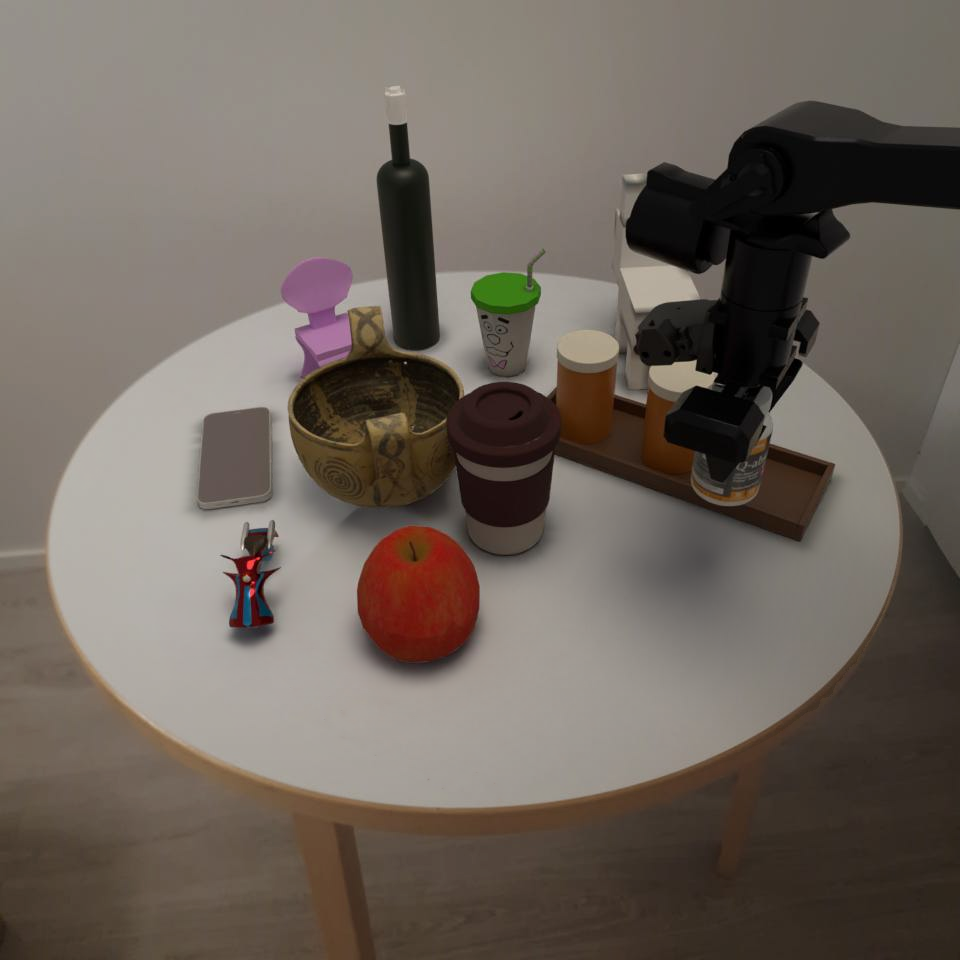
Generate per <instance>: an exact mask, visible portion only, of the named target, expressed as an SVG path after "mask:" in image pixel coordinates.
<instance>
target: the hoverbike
mask: <svg viewBox="0 0 960 960" xmlns="http://www.w3.org/2000/svg"><path fill="white" fill-rule="evenodd" d="M275 538H279V534H278V532H277V530H276V521H275V519H271V520H270V521H269V523H268V527H258V528H250V522H248V521H245V522H244V523H243V526H242V531H241V536H240V544H239V545H240V546H239V548H240V551H241V552H244V551H245V550H246V551H247V553H248V555H242V556H240V557H238V558H237V557H235V558H233V557H230V556H229V555H225V554H220V555H219V557H222V558H224V559H226V560H230V561H232V562H233V564H234V565H235V568H236V571H237V573H235V572H227V571H222V573H223V574H224V575H225V576H227V577H228V578H229V579H231V581H232V582H233V584H234V587H235V600H234V605H233V608H232V610H231V613H230V615H229V619H228V626H229V627H230V628H232V629H233V628H234V629H235V628H237V629H239V628H240V629H245V628H246V629H248V628H251V629H252V628H253V629H255V628H258V627H261V626H269V625H272V624H274V623H275V616H274V614H273V611H272V609H271V608H270V606H269V604H268V602H267V600H266V596H265V587H264V586H265V583H266V582H267V580H268V579H269V578H270V576H272V575H273V574H274V573H275V572H277V571H279V570H280V569H282V566H280V567H277V568H274V569H270V570H261V569H262V563H265V562H269V561H270V560H271V559H272V558H273V556H274V554H275V552H276V551H277V550H276V549H275V547H274V545H273V542H274V540H275Z"/></svg>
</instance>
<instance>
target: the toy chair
mask: <svg viewBox="0 0 960 960" xmlns="http://www.w3.org/2000/svg"><path fill="white" fill-rule="evenodd" d="M352 282H353V270H352V268H351V267H350V266H349V265H348V264H347V263H346V262H343V261H341V260H338V259H335V258H329V257H321V256H315V257H310V258H307V259H304V260H302V261H300V262H299V263H297V264H296V265H295V266H294V267H293V268H292V269H291V270H290V271H289V273H288V274H287V275H286V276H285V278H284V279H283V282H282V284H281V286H280V295H281V298H282V299H283V302H285V304H287V305H288V306H290V307H292V308H293V309H295V310H296V311H297V312H298V313H303V314H307V317H308V322H309V324H305V325H302V326H299V327H295V328H294V334H295V336H294V337H295V340H296V342H297V343H298V345H299V346H300V347H301V349H302V351H303V355H304V358H303V359H304V360H303V364H302V367H301V371H300V374H299V377H300V378H304V377H305V376H307V375H308V374H310V373H311V372H313V371H314V370H316V369H318V368H319V367H321V366H323V365H325V364H328V363H330V362H333V361H336V360H338V359H341V358H344V357H346V356H347V355H348V353H349V352H350V350H351V344H352V342H351V331H350V322H349V316H348V312H343V313H341V314H336V306H338V305H339V304H340V303H341V302H343V301H344V300H346V299H347V298H348V295H349V292H350V289H351V286H352V284H353V283H352Z"/></svg>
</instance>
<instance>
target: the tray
mask: <svg viewBox="0 0 960 960" xmlns="http://www.w3.org/2000/svg"><path fill="white" fill-rule="evenodd" d="M556 396H557V386H555V388H554V389H553V390H552V391H551V392H550V393H548V395H547V396H546V397H547V398H549V399H550V400H551V401H552V402H553V403H554V404H555V405H556ZM646 405H647V403H643V402H639V401H637V400H633V399H631V398H627V397H624V396H622V395H617V394H615V393H614V405H613V417H612V429H611V432H610V434H609V435H608V436H607V437H606V438H605V439H603V440H601V441H599V442H595V443H590V444H580V443H576V442H573V441H570V440H567V439H564V438H563V437H561V436H560V439H559V442H558V444H557V445H556V447H555V448H554V451H555V455H557V456H560V457H562V458H565V459H567V460H571V461H574V462H575V463H578V464H582V465H585V466H588V467H591V468H593V469H595V470H598V471H601V472H604V473H607V474H610V475H613V476H616V477H619V478H621V479H624V480H627V481H629V482H633V483H635V484H638V485H641V486H644V487H646V488H650V489H652V490H655V491H658V492H661V493H663V494H666V495H669V496H672V497H675V498H678V499H680V500H683V501H686V502H688V503H692V504H695V505H697V506H701V507H703V508H706V509H708V510H711V511H714V512H717V513H720V514H723V515H726V516H728V517H731V518H734V519H736V520H739V521H742V522H745V523H747V524H751V525H754V526H756V527H760V528H762V529H765V530H766V531H767V530H768V531H770V532H772V533H773V532H774V533H776V534H779V535H782V536H784V537H787V538H790V539H792V540H795V541H799V542H801V541H802V539H803V537H804V536H805V535H804V534H805V533H806V531H807V528H808V527H809V525H810V522H811V521H812V519H813V517H814V514H815V513H816V511H817V509H818V507H819V505H820V503H821V500H822V499H823V497H824V495H825V492H826V490H827V488H828V486H829V484H830V483H831V480H832V478H833V474H834V471H835V467H836V463H834V462H831V461H828V460H824V459H821V458H818V457H815V456H811V455H809V454H804V453H802V452H799V451H795V450H792V449H789V448H786V447H782V446H780V445H777V444H773V443H770V444H769V449H768V453H767V457H766V462H765V466H764V471H763V475H762V480H761V483H760V487H759V491H758V493H757V495H756V496H755V497H754V498H753V499H752V500H751V501H749V502H747V503H745V504H742V505H737V506H721V505H717V504H713V503H710V502H708V501H706V500H705V499H703V498H702V497H700V496H699V495H698V494H697V493H696V492H695V490H694V489H693V487H692V484H691V473H692V470H691V471H689V472H687V473H683V474H665V473H662V472H659V471H657V470H654V469H652V468H650V467H649V466H647V465H646V464H645V462H644V461H643V459H642V456H641V449H642V440H643V431H644V423H645V414H646Z"/></svg>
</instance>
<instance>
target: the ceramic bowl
mask: <svg viewBox="0 0 960 960" xmlns="http://www.w3.org/2000/svg"><path fill="white" fill-rule="evenodd" d="M346 313H347V314H348V316H349V322H350V331H351V342H352V344H351V350H350V352H349V353H348V355H347V356H346V357H344V358H341V359H338V360H336V361H333V362H330V363H328V364H325V365H323V366H321V367H319V368H318V369H316V370H314V371H313V372H311V373H310V374H308V375H307V376H305V377H302V378H301V379H300V381H299V382H298V383H297V384H296V385H295V387H294V388H293V389H292V391H291V393H290V395H289V397H288V401H287V414H288V426H289V432H290V433H289V434H290V438H291V442H292V445H293V447H294V450H295V453H296V455H297V457H298V460H299V461H300V463H301V465H302V466H303V469H304V470H305V472H306V473H307V475H308V476H309V477H310V479H312V480H313V481H314V483H315V484H316V485H317V486H319V488H321V489H322V490H323V491H324V492H325V493H327V494H328V495H330V496H331V497H333V498H335V499H337V500H339V501H342V502H344V503H347V504H350V505H354V506H357V507H363V508H370V509H388V508H389V509H390V508H396V507H401V506H406V505H410V504H412V503H414V502H415V503H416V502H417V501H420V500H422V499H424V498H426V497H427V496H430V495H431V494H433V493H434V492H435V491H436V490H438V489H439V488H440V487H441V486H443V485H444V483H445V482H446V481H447V480H448V479H449V478H450V476H451V475H452V473H453V472H454V470H456V464H455V458H454V449H453V448H452V447H451V445H450V443H449V440H448V437H447V428H446V419H447V415H448V412H449V410H450V409H451V407H452V406H453V405H454V404H455V403H456V402H457V401H458V400H459V399H460V398H462V397H463V396H465V387H464V385H463V383H462V380H461V379H460V377H459V375H458V374H457V373H456V372H455V371H454V369H453V368H451V366H449V365H448V364H446V363H445V362H444V361H441V360H439V359H437V358H435V357H433V356H430V355H426V354H423V353H419V352H413V351H403V350H400V349H396V348H394V347H393V345H391V344H390V343H389V341H388V339H387V335H386V330H385V326H384V318H383V317H384V316H383V310H382V306H381V305H372V306H358V307H357V306H356V307H353V308H349V309H348V310H347V312H346Z"/></svg>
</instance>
